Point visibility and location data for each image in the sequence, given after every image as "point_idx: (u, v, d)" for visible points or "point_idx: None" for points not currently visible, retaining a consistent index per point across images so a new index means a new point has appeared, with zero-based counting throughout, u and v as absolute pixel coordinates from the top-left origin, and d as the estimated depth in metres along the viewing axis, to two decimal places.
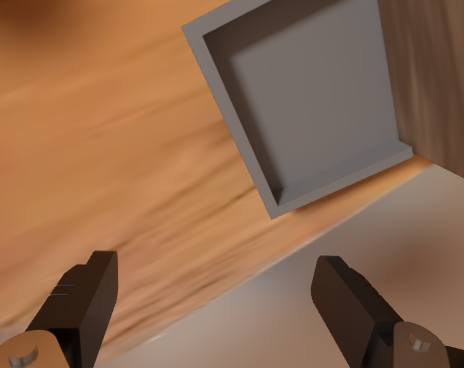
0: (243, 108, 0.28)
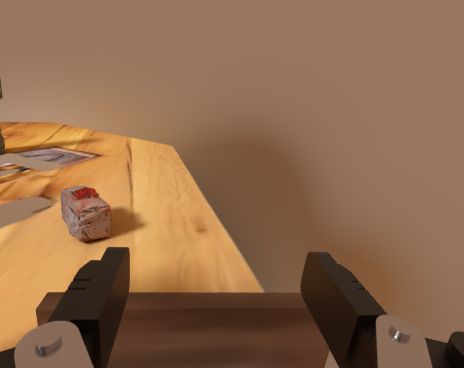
0: None
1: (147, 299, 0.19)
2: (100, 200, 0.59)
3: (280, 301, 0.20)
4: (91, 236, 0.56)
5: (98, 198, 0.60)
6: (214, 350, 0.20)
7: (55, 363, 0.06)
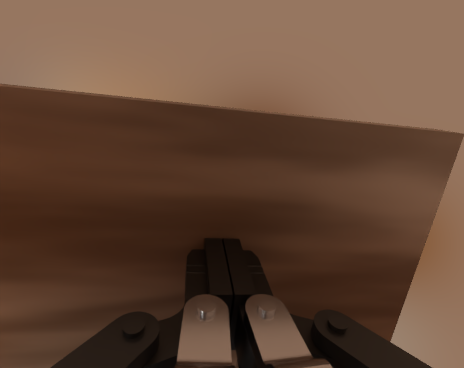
0: None
1: (136, 98, 0.11)
2: None
3: (362, 122, 0.12)
4: None
5: None
6: (252, 205, 0.12)
7: (206, 328, 0.07)
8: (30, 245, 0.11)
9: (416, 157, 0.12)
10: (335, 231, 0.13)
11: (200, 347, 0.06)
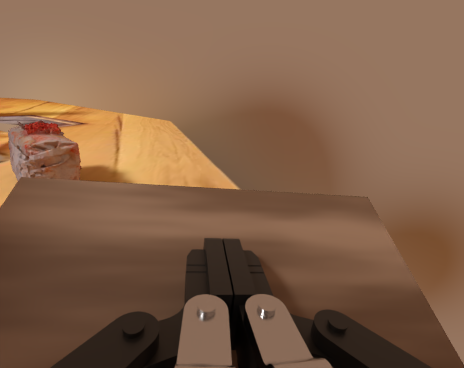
0: None
1: None
2: (64, 138, 0.40)
3: None
4: None
5: (61, 136, 0.41)
6: None
7: (206, 328, 0.07)
8: (26, 283, 0.11)
9: (346, 209, 0.17)
10: (319, 264, 0.14)
11: (200, 347, 0.06)
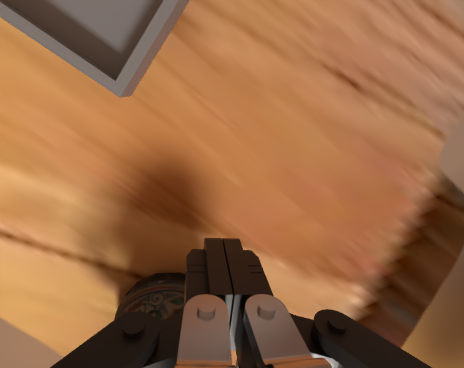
0: (148, 20, 0.31)
1: None
2: None
3: None
4: None
5: None
6: None
7: (206, 328, 0.07)
8: None
9: None
10: None
11: (200, 347, 0.06)
